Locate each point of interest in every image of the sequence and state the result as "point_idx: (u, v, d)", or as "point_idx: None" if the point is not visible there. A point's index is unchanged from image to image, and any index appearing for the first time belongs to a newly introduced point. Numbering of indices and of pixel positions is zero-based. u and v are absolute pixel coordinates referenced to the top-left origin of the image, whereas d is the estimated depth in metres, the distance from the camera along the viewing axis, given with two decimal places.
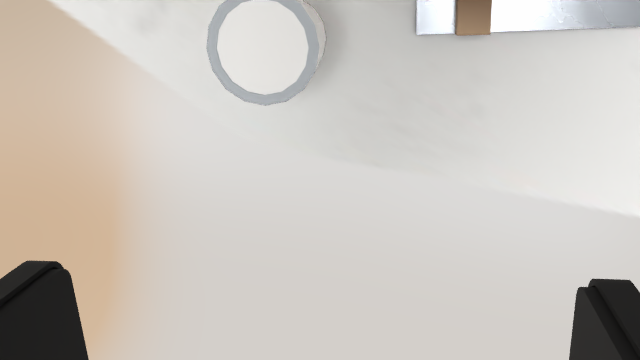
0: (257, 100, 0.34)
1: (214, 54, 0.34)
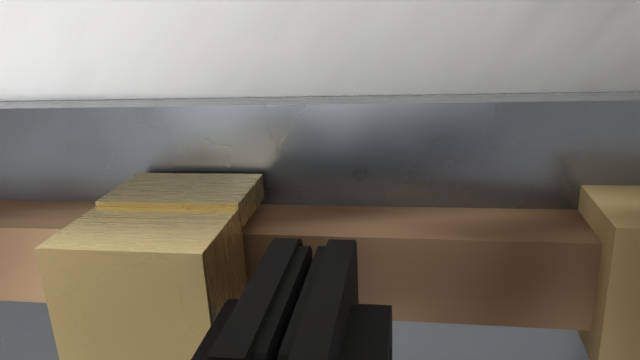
0: None
1: None
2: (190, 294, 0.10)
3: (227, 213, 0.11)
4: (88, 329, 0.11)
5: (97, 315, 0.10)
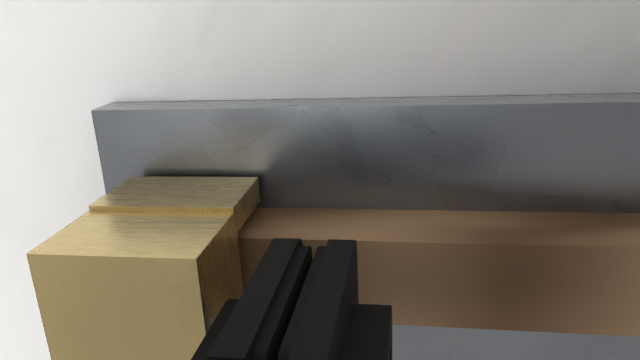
0: None
1: None
2: (184, 300, 0.10)
3: (222, 217, 0.11)
4: (83, 335, 0.10)
5: (91, 321, 0.10)
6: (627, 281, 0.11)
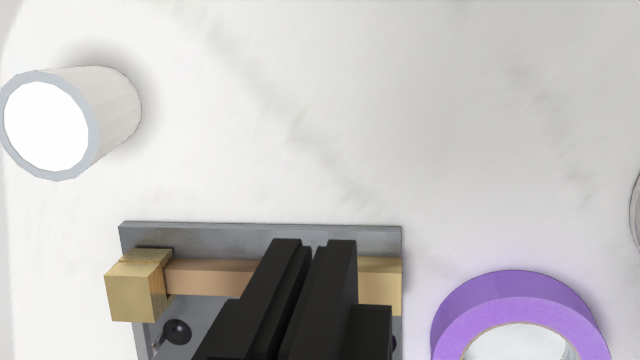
0: None
1: (30, 78, 0.33)
2: (144, 287, 0.38)
3: (157, 264, 0.40)
4: (118, 297, 0.39)
5: (120, 293, 0.39)
6: None
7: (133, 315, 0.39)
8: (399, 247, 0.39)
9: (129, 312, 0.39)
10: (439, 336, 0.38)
